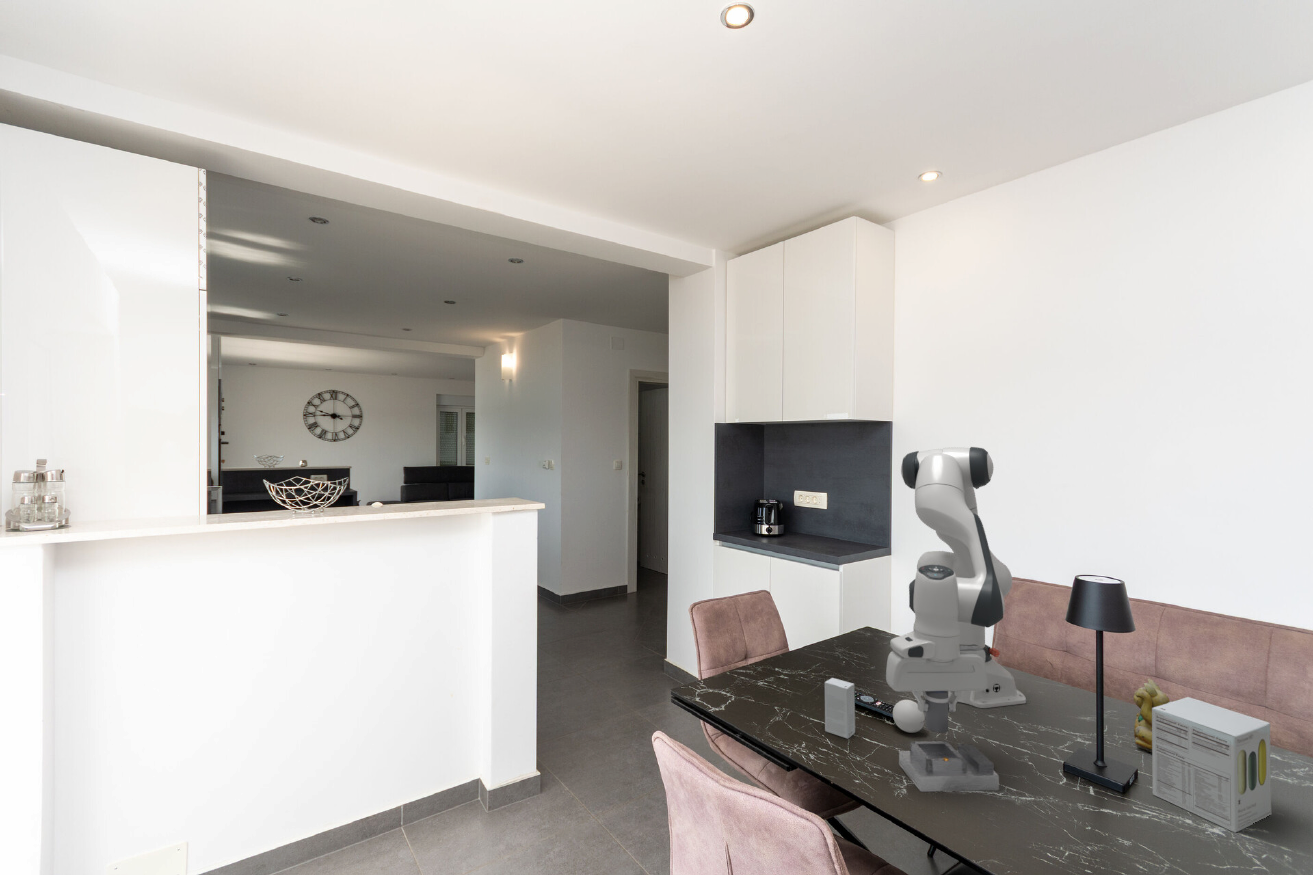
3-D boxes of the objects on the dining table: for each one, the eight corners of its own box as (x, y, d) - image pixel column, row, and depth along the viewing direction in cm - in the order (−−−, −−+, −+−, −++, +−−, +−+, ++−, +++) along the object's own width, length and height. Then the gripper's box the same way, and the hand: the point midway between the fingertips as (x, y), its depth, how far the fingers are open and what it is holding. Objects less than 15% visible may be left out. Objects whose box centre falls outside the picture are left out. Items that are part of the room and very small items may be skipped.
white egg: (919, 741, 140) (919, 710, 140) (888, 731, 145) (887, 701, 145) (933, 726, 147) (933, 697, 147) (903, 717, 152) (902, 688, 152)
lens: (942, 722, 127) (941, 684, 127) (953, 733, 122) (953, 693, 123) (920, 723, 127) (920, 684, 127) (931, 733, 122) (931, 693, 122)
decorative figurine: (1136, 735, 142) (1136, 672, 143) (1182, 747, 136) (1181, 682, 137) (1130, 749, 136) (1129, 684, 136) (1178, 763, 130) (1177, 694, 130)
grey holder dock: (971, 763, 130) (971, 737, 130) (998, 790, 120) (998, 761, 120) (899, 764, 129) (898, 738, 130) (920, 791, 119) (920, 762, 120)
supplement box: (1236, 834, 106) (1235, 736, 106) (1151, 794, 118) (1149, 706, 118) (1273, 816, 111) (1272, 722, 112) (1188, 779, 124) (1187, 695, 124)
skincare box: (855, 733, 144) (855, 683, 144) (847, 739, 141) (847, 688, 141) (832, 725, 148) (832, 676, 148) (824, 731, 145) (823, 681, 145)
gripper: (976, 639, 128) (976, 703, 128) (882, 639, 128) (883, 704, 128) (993, 649, 122) (994, 717, 122) (895, 649, 122) (895, 717, 121)
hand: (936, 710), depth 125 cm, fingers closed on lens, 4 cm apart
